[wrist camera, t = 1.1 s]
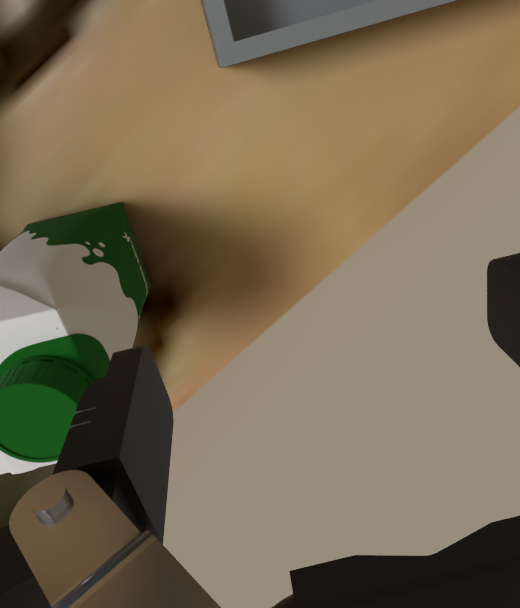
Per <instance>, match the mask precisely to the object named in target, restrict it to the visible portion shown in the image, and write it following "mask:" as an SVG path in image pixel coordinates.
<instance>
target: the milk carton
mask: <svg viewBox="0 0 520 608" xmlns="http://www.w3.org/2000/svg"><path fill="white" fill-rule="evenodd" d="M150 288H151V284H150V281H149V278H148V275H147V272H146V269H145V267H144V264H143V261H142V258H141V255H140V252H139V249H138V247H137V244H136V241H135V238H134V235H133V232H132V229H131V227H130V224H129V221H128V218H127V215H126V212H125V210H124V207H123V204H122V202H120V203H116V204H112V205H108V206H103V207H99V208H95V209H91V210H87V211H82V212H78V213H74V214H70V215H65V216H61V217H57V218H53V219H49V220H44V221H40V222H36V223H32V224H28V225H27V226H26V227H25V228H24V230H23V231H22V232H21V233H20V234H19V235H18V236H17V237H16V238H15V239H14V240H13V241H11V242H10V243H9V244H8V245H7V246H6V247H5V248H4V249H3V250H2V251H1V252H0V474H4V473H8V472H11V474H18V473H23V472H27V471H31V470H34V469H36V468H38V467H42V466H47V465H51V464H55V463H57V461H58V458H59V455H60V453H61V450H62V447H63V444H64V442H65V439H66V436H67V433H68V431H69V429H71V426H70V425H71V422H72V420H73V417H74V415H76V409H77V406H78V403H79V401H80V398H81V395H82V394H83V393H84V392H85V390H86V389H87V388H88V387H89V386H90V385H91V384H92V382H93V381H94V380H95V379H97V378H101V377H105V376H106V373H107V370H108V367H109V364H110V360H111V357H112V355H113V353H114V352H118V351H122V350H126V349H130V348H132V346H133V343H134V339H135V335H136V331H137V328H138V324H139V320H140V316H141V313H142V309H143V305H144V302H145V300H146V297H147V295H148V293H149V290H150Z"/></svg>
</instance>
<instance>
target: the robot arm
mask: <svg viewBox="0 0 520 608" xmlns="http://www.w3.org/2000/svg"><path fill="white" fill-rule="evenodd" d="M487 320H488V326H489V330H490V333H491V335H492V337H493V339H494V341H495V342H496V343H497V345H498V346H499V347H500V348H501V349H502V350H503V351H504V352H505V353H506V354H507V355H508V356H509V357H510V358H511V359H512V360H513V361H514V362H515V363H516V364H517V365H518V366H519V367H520V253H518V254H514V255H510V256H506V257H502V258H498V259H493V260H492V261H490V263H489V265H488V269H487ZM70 426H71V429H69V431H68V433H67V436H66V439H65V442H64V444H63V447H62V450H61V453H60V455H59V458H58V461H57V463H56V466H55V469H54V472H53V474H52V476H50V477H48V478H46V479H44V480H42V481H41V482H39V483H38V484H36V485H35V486H34V487H32V488H31V489H30V490H29V491H28V492H27V493H26V494H25V495H24V496H23V497H22V498H21V499H20V501H19V502H18V503H17V505H16V506H15V508H14V510H13V512H12V514H11V517H10V522H9V524H8V525H7V526H5V527H3V528H1V529H0V608H221V607H220V606H219V605H218V604H217V603H216V602H215V601H214V600H213V599H212V598H211V597H210V596H209V594H208V593H207V592H206V591H205V590H204V589H203V588H202V587H201V586H200V585H199V584H198V583H197V581H196V580H195V579H194V578H193V577H192V576H191V575H190V574H189V573H188V572H187V571H186V569H184V567H183V566H182V565H181V564H180V563H179V562H178V561H177V560H176V559H175V558H174V556H172V554H171V553H170V552H169V551H168V550H167V549H166V548H165V547H164V546H163V536H164V524H165V512H166V502H167V490H168V478H169V467H170V455H171V444H172V433H173V412H172V406H171V402H170V399H169V396H168V393H167V391H166V388H165V386H164V383H163V381H162V378H161V376H160V373H159V371H158V368H157V366H156V363H155V361H154V358H153V356H152V353H151V351H150V349H149V348H148V346H147V345H142V346H138V347H134V348H130V349H126V350H122V351H118V352H114V353H113V355H112V357H111V360H110V364H109V367H108V370H107V373H106V376H105V377H101V378H97V379H95V380H94V381H93V382H92V384H91V385H90V386H89V387H88V388H87V389H86V390H85V392H84V393H83V394H82V395H81V398H80V401H79V403H78V406H77V409H76V415H74V417H73V420H72V422H71V425H70ZM290 577H291V583H292V589H293V594H292V595H290V596H288V597H287V598H285V599H283V600H282V601H280V602H279V603H277V604H276V605H275V606H273V607H272V608H520V516H517V517H513V518H509V519H504V520H500V521H496V522H492V523H490V524H488V525H486V526H485V527H483V528H481V529H479V530H477V531H476V532H474V533H472V534H470V535H469V536H467V537H465V538H463V539H461V540H460V541H457V542H456V543H454V544H452V545H450V546H448V547H447V548H445V549H443V550H441V551H439V552H438V553H435V554H433V555H429V556H373V555H371V556H370V555H368V556H367V555H355V556H351V557H346V558H342V559H338V560H334V561H329V562H325V563H321V564H317V565H313V566H309V567H304V568H300V569H296V570H292V571H290Z"/></svg>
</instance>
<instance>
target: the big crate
mask: <svg viewBox="0 0 520 608" xmlns="http://www.w3.org/2000/svg"><path fill="white" fill-rule="evenodd" d="M452 1H455V0H201V3H202V7H203V11H204V14H205V18H206V22H207V26H208V30H209V33H210V37H211V41H212V45H213V48H214V52H215V56H216V60H217V64H218V67H220V68H222V67H226V66H229V65H233V64H236V63H240V62H243V61H247V60H250V59H254V58H257V57H261V56H264V55H268V54H271V53H275V52H278V51H282V50H285V49H288V48H292V47H295V46H299V45H302V44H306V43H309V42H313V41H316V40H320V39H323V38H327V37H330V36H334V35H337V34H341V33H344V32H348V31H351V30H355V29H358V28H362V27H365V26H369V25H372V24H375V23H379V22H382V21H386V20H389V19H393V18H396V17H400V16H403V15H407V14H410V13H414V12H417V11H421V10H424V9H428V8H431V7H435V6H438V5H442V4H445V3H449V2H452Z"/></svg>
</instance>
